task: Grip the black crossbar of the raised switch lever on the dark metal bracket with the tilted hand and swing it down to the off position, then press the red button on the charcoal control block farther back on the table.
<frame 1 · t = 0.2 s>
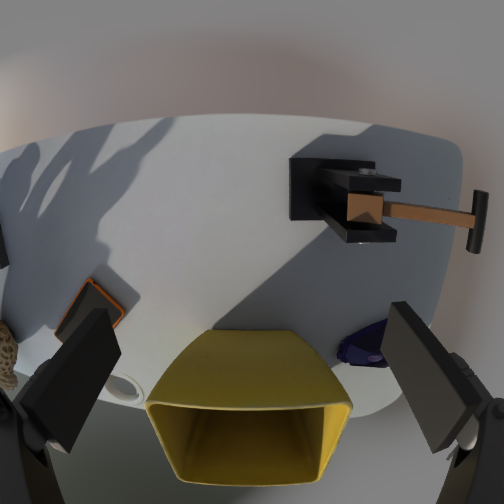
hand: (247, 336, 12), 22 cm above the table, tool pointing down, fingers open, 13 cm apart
flower pot: (250, 361, 40), on the table
smartphone: (86, 322, 39), on the table
switch lever: (421, 212, 19), point 13 cm above the table, hinge at 25.0°
switch bracket: (331, 188, 32), on the table
teapot: (7, 329, 41), on the table
computer mouse: (379, 342, 39), on the table
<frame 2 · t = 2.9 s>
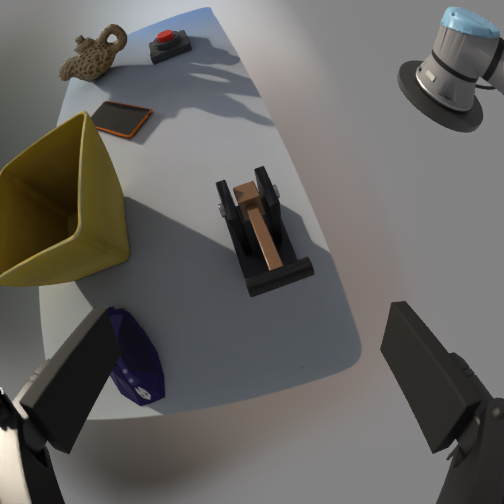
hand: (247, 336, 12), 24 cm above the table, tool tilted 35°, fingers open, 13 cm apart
flower pot: (97, 237, 42), on the table
smartphone: (117, 119, 50), on the table
switch lever: (261, 230, 25), point 13 cm above the table, hinge at 25.0°
switch bracket: (259, 237, 38), on the table
teapot: (103, 73, 58), on the table
power button: (165, 36, 52), point 4 cm above the table, slide at 0.1 cm
computer mouse: (129, 356, 36), on the table
control block: (170, 49, 56), on the table
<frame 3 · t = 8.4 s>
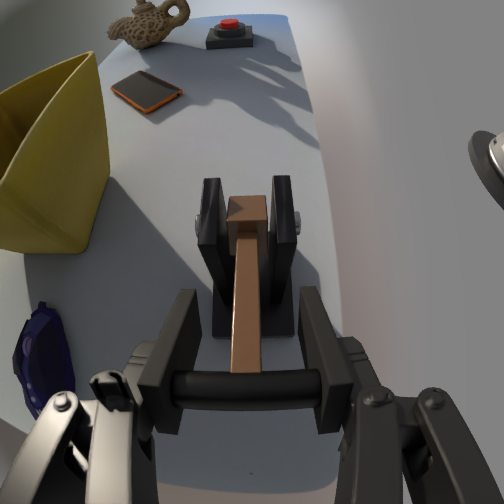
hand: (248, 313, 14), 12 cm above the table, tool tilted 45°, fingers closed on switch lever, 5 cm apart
flower pot: (63, 213, 31), on the table
smartphone: (143, 91, 42), on the table
switch lever: (247, 282, 13), point 13 cm above the table, hinge at 25.0°, touching gripper
switch bracket: (252, 285, 27), on the table
teapot: (153, 45, 54), on the table
power button: (229, 24, 47), point 4 cm above the table, slide at 0.1 cm
computer mouse: (45, 368, 23), on the table
control block: (230, 40, 51), on the table
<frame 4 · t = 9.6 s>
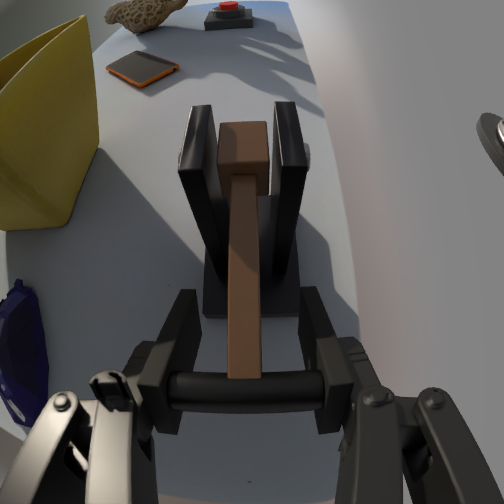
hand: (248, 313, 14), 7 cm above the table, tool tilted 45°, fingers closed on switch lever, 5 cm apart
flower pot: (48, 187, 28), on the table
smartphone: (139, 69, 39), on the table
switch lever: (244, 247, 11), point 11 cm above the table, hinge at 0.1°, touching gripper
switch bracket: (251, 255, 23), on the table
teapot: (150, 29, 50), on the table
power button: (228, 6, 43), point 4 cm above the table, slide at 0.1 cm
computer mouse: (19, 354, 19), on the table
control block: (229, 22, 47), on the table
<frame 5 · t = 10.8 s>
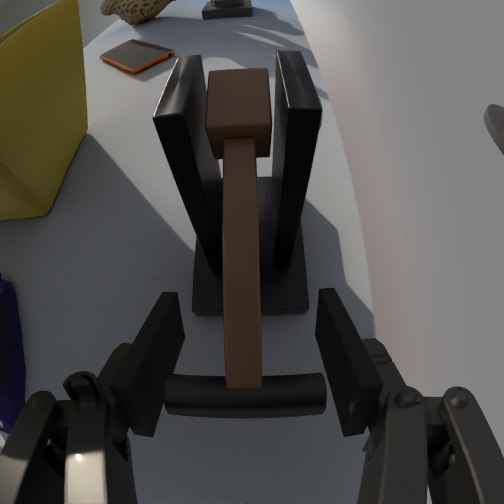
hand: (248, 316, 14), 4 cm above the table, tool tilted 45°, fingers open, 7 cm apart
flower pot: (34, 176, 25), on the table
smartphone: (133, 56, 36), on the table
switch lever: (241, 232, 9), point 10 cm above the table, hinge at -16.4°
switch bracket: (249, 244, 20), on the table
teapot: (147, 20, 47), on the table
control block: (228, 12, 44), on the table
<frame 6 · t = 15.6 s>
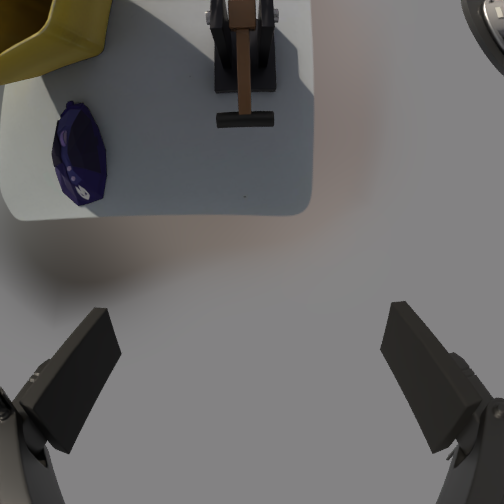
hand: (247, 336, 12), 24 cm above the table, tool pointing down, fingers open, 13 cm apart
flower pot: (74, 31, 25), on the table
switch lever: (243, 62, 20), point 10 cm above the table, hinge at -16.4°
switch bracket: (244, 55, 28), on the table
computer mouse: (78, 152, 31), on the table
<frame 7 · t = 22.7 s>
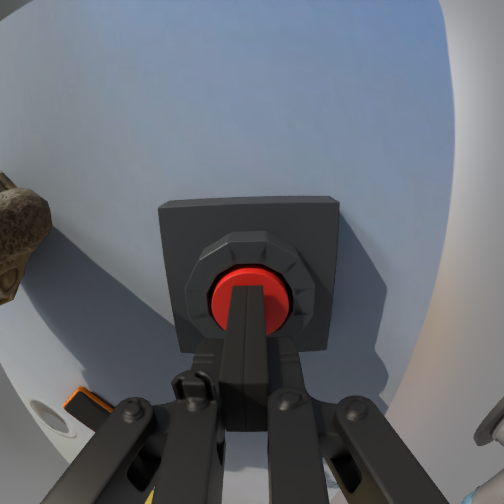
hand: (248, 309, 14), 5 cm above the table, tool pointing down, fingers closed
smartphone: (130, 434, 26), on the table
teapot: (15, 218, 18), on the table
power button: (250, 299, 15), point 4 cm above the table, slide at -0.8 cm, touching gripper
control block: (251, 273, 19), on the table
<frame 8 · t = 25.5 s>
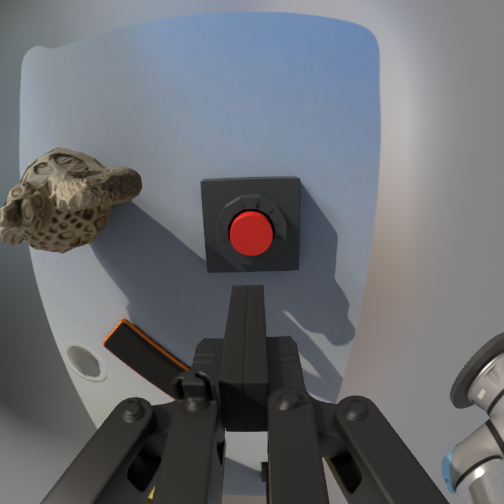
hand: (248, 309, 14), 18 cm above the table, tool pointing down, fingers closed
smartphone: (156, 363, 39), on the table
switch bracket: (276, 470, 51), on the table
teapot: (89, 191, 30), on the table
power button: (251, 233, 27), point 4 cm above the table, slide at 0.1 cm
control block: (251, 222, 32), on the table
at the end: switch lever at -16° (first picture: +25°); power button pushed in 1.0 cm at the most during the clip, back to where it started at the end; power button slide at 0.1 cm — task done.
